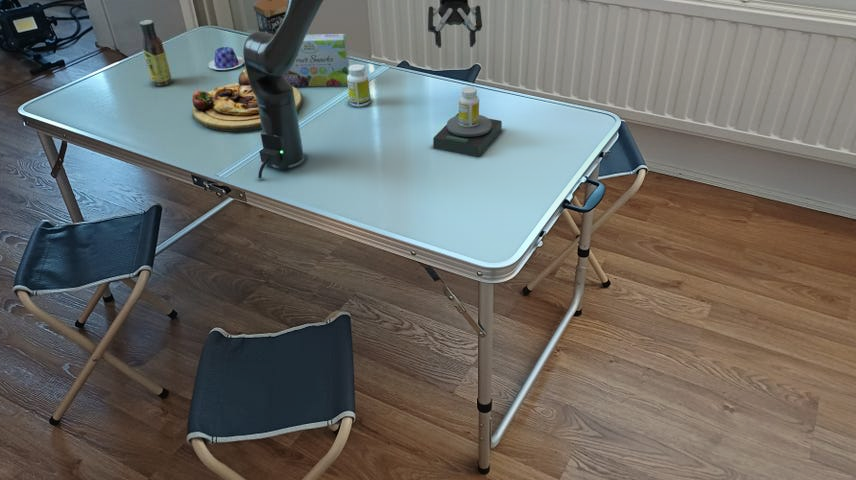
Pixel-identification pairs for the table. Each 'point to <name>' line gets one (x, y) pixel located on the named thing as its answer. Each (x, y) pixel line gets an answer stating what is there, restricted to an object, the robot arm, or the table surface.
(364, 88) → the pill bottle
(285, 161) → the robot arm
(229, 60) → the pudding
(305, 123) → the table surface
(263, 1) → the whiskey bottle
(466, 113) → the supplement bottle
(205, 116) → the wooden plate
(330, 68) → the snack box
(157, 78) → the sauce bottle
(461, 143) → the kitchen scale
